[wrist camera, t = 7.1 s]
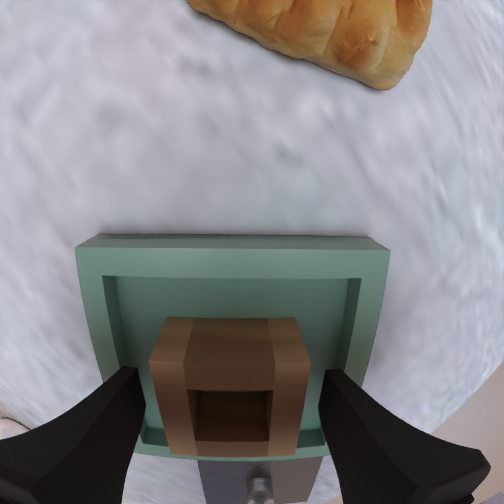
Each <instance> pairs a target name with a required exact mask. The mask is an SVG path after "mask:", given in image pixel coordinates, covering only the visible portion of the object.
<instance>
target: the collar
mask: <svg viewBox="0 0 504 504" xmlns="http://www.w3.org/2000/svg"><path fill="white" fill-rule="evenodd" d="M149 366H150V371H151V376H152V380H153V385H154V390H155V394H156V398H157V403H158V407H159V411H160V415H161V419H162V423H163V427H164V431H165V434H166V438H167V442H168V445H169V449H170V452H171V454H176V455H188V456H204V457H272V456H288V455H295V452H296V447H297V442H298V437H299V431H300V426H301V421H302V415H303V409H304V404H305V398H306V392H307V385H308V379H309V373H310V366H311V360H310V358H309V355H308V352H307V349H306V346H305V343H304V341H303V338H302V335H301V332H300V329H299V326H298V324H297V321H296V318H295V317H288V318H198V317H167V319H166V321H165V323H164V325H163V328H162V330H161V332H160V335H159V337H158V339H157V342H156V344H155V346H154V349H153V351H152V354H151V356H150V358H149ZM201 390H221V391H256V390H264V392H201Z"/></svg>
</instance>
